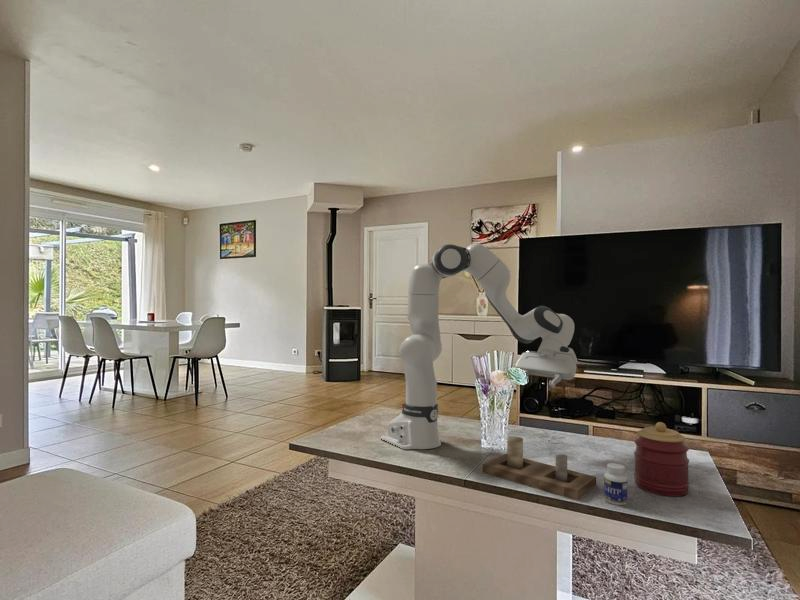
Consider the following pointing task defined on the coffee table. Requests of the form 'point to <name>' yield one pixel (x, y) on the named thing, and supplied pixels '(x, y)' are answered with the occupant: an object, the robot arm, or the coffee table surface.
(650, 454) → the canister
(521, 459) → the wooden peg
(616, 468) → the pill bottle
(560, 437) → the scissors
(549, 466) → the wooden peg holder
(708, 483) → the coffee table surface
